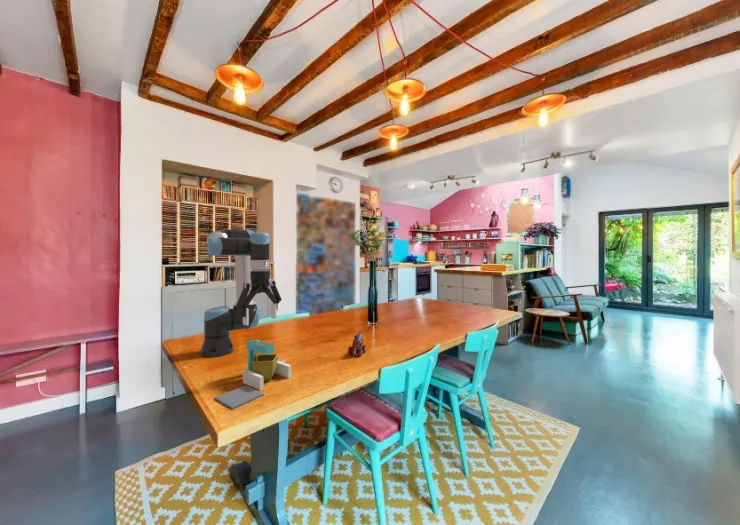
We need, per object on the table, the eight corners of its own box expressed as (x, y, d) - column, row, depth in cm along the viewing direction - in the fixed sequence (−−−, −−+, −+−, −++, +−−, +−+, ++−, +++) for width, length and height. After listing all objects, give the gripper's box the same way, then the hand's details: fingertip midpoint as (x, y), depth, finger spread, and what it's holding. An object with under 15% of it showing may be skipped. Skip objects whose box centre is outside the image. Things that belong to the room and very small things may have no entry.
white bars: (234, 378, 124) (233, 366, 124) (282, 361, 144) (282, 350, 144) (260, 390, 114) (260, 377, 114) (308, 369, 134) (308, 358, 134)
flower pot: (257, 374, 128) (257, 354, 128) (278, 374, 129) (278, 353, 129) (251, 383, 120) (250, 361, 119) (273, 383, 120) (273, 361, 120)
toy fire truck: (346, 356, 151) (346, 336, 151) (355, 349, 163) (355, 330, 162) (359, 358, 149) (359, 337, 148) (367, 350, 160) (367, 331, 160)
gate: (246, 372, 129) (246, 341, 128) (255, 369, 132) (254, 339, 131) (266, 380, 121) (265, 347, 120) (274, 377, 124) (274, 344, 123)
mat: (214, 398, 107) (214, 397, 107) (245, 386, 117) (245, 385, 117) (232, 409, 100) (232, 407, 100) (263, 395, 110) (263, 393, 110)
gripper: (237, 272, 111) (238, 329, 111) (289, 269, 131) (289, 317, 132) (225, 271, 115) (226, 326, 115) (278, 268, 135) (278, 315, 136)
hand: (260, 321), depth 124 cm, fingers open, 13 cm apart
